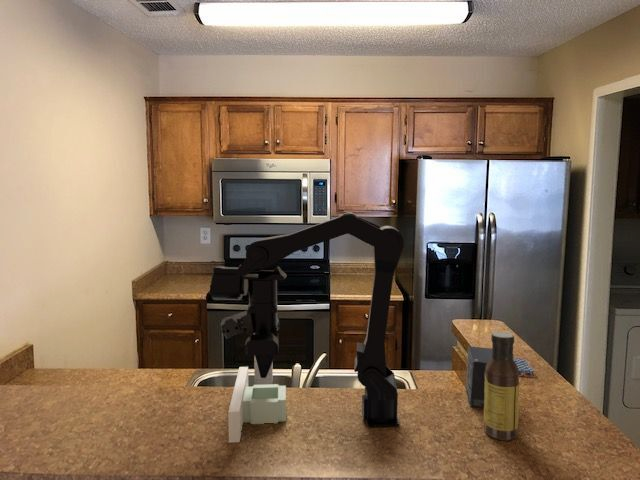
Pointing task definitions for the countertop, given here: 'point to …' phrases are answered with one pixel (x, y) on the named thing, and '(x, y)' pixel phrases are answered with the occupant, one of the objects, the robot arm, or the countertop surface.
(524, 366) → the woven mat
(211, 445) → the countertop surface
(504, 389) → the sauce bottle
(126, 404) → the countertop surface
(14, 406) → the countertop surface
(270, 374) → the grey square block
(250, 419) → the socket block
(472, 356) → the small box
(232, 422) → the backstop wall
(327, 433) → the countertop surface
